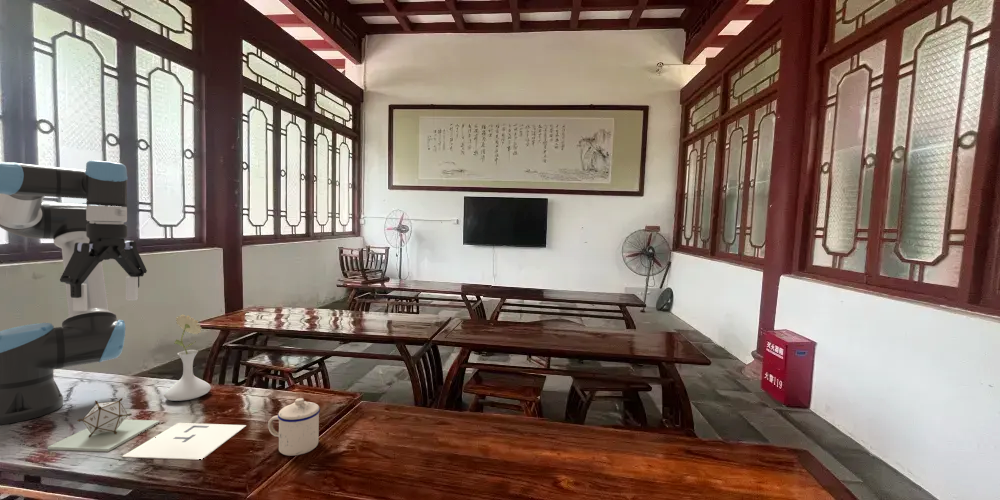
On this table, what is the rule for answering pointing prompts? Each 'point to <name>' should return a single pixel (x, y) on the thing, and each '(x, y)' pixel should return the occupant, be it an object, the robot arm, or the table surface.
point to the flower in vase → (187, 367)
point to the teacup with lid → (297, 427)
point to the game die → (105, 417)
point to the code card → (186, 441)
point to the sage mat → (104, 437)
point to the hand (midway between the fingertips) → (107, 305)
